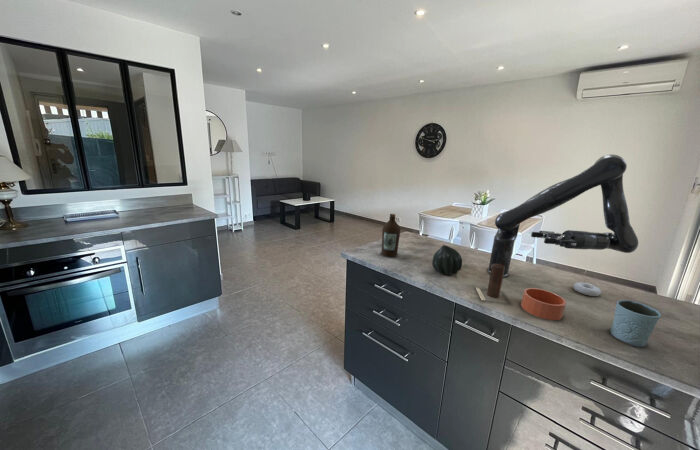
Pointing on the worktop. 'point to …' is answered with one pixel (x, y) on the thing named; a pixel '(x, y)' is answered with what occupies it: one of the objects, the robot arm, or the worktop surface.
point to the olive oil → (390, 237)
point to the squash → (447, 260)
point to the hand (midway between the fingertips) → (538, 237)
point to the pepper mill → (495, 280)
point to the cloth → (480, 294)
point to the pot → (543, 303)
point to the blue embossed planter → (634, 322)
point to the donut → (586, 289)
